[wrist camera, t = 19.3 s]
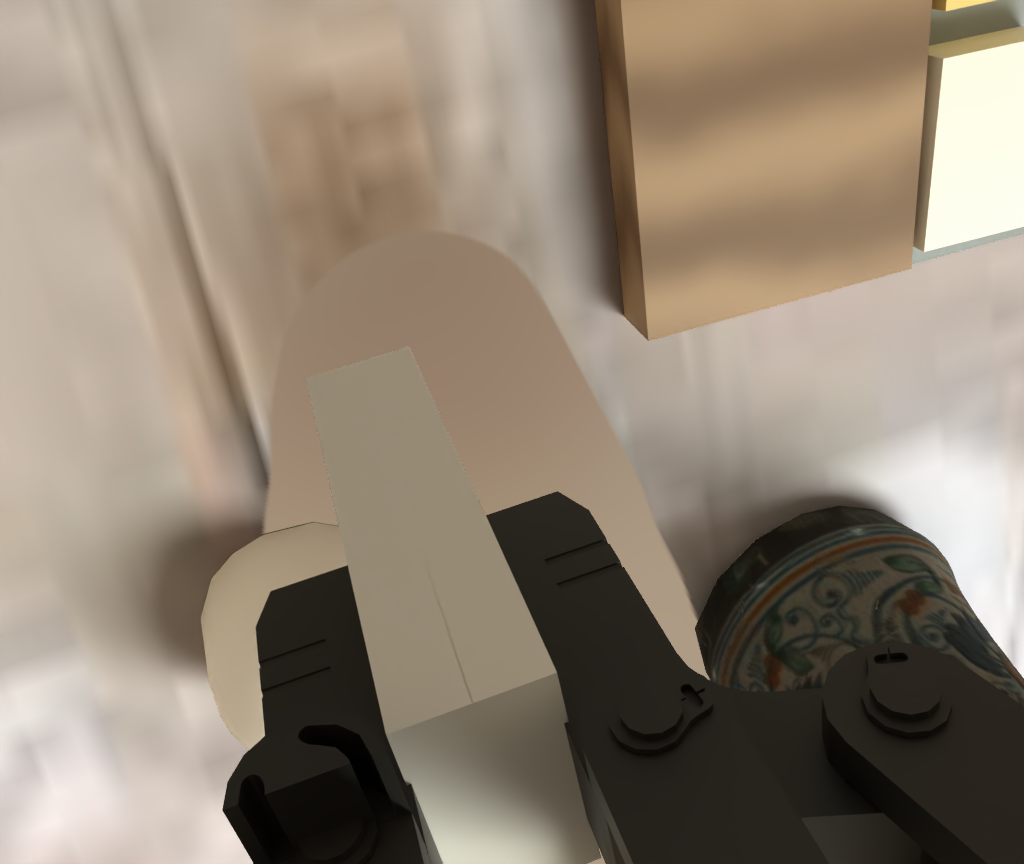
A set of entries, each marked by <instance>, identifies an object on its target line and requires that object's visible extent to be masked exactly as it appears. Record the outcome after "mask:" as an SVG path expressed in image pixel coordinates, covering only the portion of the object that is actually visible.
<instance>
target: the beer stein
mask: <svg viewBox="0 0 1024 864" xmlns="http://www.w3.org/2000/svg"><path fill="white" fill-rule="evenodd" d="M695 631H696V635H697V639H698V643H699V646H700V650H701V654H702V658H703V662H704V666H705V670H706V673H707V675H708V676H709V678H710V681H712V682H714V683H717V684H719V685H721V686H724V687H728V688H733V689H738V690H742V691H754V692H774V691H787V690H800V689H813V688H823V687H824V683H825V680H826V676H827V672H828V671H829V670H830V669H831V668H832V667H833V666H834V665H835V664H836V663H837V662H838V661H839V660H840V659H841V658H842V657H843V656H844V655H845V654H847V653H849V652H852V651H854V650H857V649H859V648H861V647H864V646H866V645H869V644H876V643H888V642H905V643H910V644H915V645H920V646H925V647H930V648H933V649H935V650H937V651H939V652H941V653H943V654H945V655H947V656H949V657H951V658H953V659H955V660H957V661H959V662H961V663H962V664H964V665H965V666H966V667H968V668H969V669H971V670H972V671H974V672H975V673H977V674H978V675H979V676H981V677H982V678H984V679H985V680H987V681H988V682H989V683H991V684H992V685H994V686H995V687H997V688H998V689H1000V690H1001V691H1002V692H1004V693H1005V694H1007V695H1008V696H1010V697H1011V698H1013V699H1014V700H1015V701H1017V702H1018V703H1020V704H1021V705H1023V706H1024V678H1023V677H1022V676H1021V675H1020V673H1019V672H1018V671H1017V669H1016V668H1015V667H1014V666H1013V664H1012V663H1011V662H1010V660H1009V659H1008V658H1007V656H1006V655H1005V654H1004V652H1003V651H1002V650H1001V649H1000V647H999V646H998V645H997V644H996V642H995V641H994V640H993V638H992V637H991V636H990V634H989V633H988V631H987V630H986V628H985V627H984V626H983V624H982V623H981V622H980V620H979V619H978V618H977V616H976V615H975V613H974V612H973V610H972V608H971V607H970V605H969V604H968V602H967V600H966V599H965V597H964V596H963V594H962V592H961V591H960V589H959V587H958V585H957V582H956V579H955V577H954V574H953V571H952V569H951V567H950V565H949V563H948V561H947V560H946V559H945V557H944V556H943V555H942V553H941V552H940V551H939V550H938V549H937V547H936V546H935V545H934V544H933V543H932V542H930V541H929V540H928V539H927V538H925V537H924V536H922V535H921V534H919V533H917V532H915V531H913V530H911V529H909V528H908V527H906V526H904V525H902V524H901V523H899V522H897V521H895V520H894V519H892V518H890V517H888V516H886V515H884V514H881V513H879V512H877V511H875V510H869V509H860V508H852V507H843V506H837V507H833V508H828V509H823V510H819V511H814V512H810V513H805V514H801V515H799V516H797V517H796V518H794V519H792V520H790V521H789V522H787V523H785V524H783V525H782V526H780V527H778V528H776V529H774V530H773V531H771V532H769V533H767V534H766V535H764V536H762V537H760V538H759V539H757V540H756V541H755V542H754V543H753V544H752V545H751V546H750V547H749V548H748V549H747V550H746V551H745V552H744V553H743V554H742V555H741V556H740V557H739V558H738V559H737V560H736V561H735V562H734V563H733V564H732V565H731V566H730V567H729V568H728V569H727V570H726V571H725V573H724V574H723V575H722V576H721V577H720V578H719V579H718V580H717V582H716V584H715V586H714V588H713V591H712V593H711V595H710V597H709V599H708V601H707V603H706V606H705V608H704V610H703V612H702V614H701V616H700V618H699V620H698V623H697V625H696V627H695Z"/></svg>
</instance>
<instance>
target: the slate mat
mask: <svg viewBox="0 0 1024 864" xmlns="http://www.w3.org/2000/svg"><path fill="white" fill-rule="evenodd" d="M1019 26H1022V27H1024V0H996V1H991V2H986V3H982V4H977V5H973V6H968V7H963V8H959V9H954V10H950V11H941V10H935V9H932V12H931V25H930V37H929V46H931V45H935V44H940V43H945V42H949V41H954V40H959V39H963V38H968V37H973V36H977V35H982V34H987V33H991V32H996V31H1001V30H1005V29H1010V28H1015V27H1019ZM1021 234H1024V227H1020V228H1016V229H1012V230H1008V231H1004V232H1000V233H997V234H993V235H989V236H985V237H981V238H977V239H973V240H969V241H965V242H961V243H957V244H953V245H950V246H946V247H942V248H938V249H934V250H930V251H926V252H923V251H921V250H919V249H917V248H915V247H913V254H912V264H915V263H919V262H922V261H926V260H929V259H933V258H937V257H940V256H944V255H948V254H951V253H955V252H959V251H962V250H966V249H970V248H973V247H977V246H981V245H984V244H988V243H991V242H995V241H999V240H1002V239H1006V238H1010V237H1013V236H1017V235H1021Z"/></svg>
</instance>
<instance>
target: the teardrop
mask: <svg viewBox="0 0 1024 864" xmlns="http://www.w3.org/2000/svg"><path fill="white" fill-rule="evenodd" d="M347 565H348V564H347V560H346V555H345V551H344V546H343V542H342V538H341V533H340V529H339V525H333V524H325V523H318V522H310V523H305V524H301V525H297V526H293V527H289V528H285V529H281V530H277V531H273V532H269V533H265V534H264V535H262V536H260V537H258V538H257V539H255V540H254V541H252V542H251V543H249V544H247V545H246V546H244V547H243V548H241V549H240V550H238V551H236V552H235V553H233V554H232V555H231V556H230V558H229V559H228V560H227V561H226V562H225V563H224V565H223V566H222V567H221V568H220V569H219V570H218V572H217V573H216V574H215V575H214V576H213V577H212V579H211V582H210V586H209V590H208V593H207V597H206V601H205V604H204V608H203V611H202V615H201V625H202V633H203V641H204V649H205V656H206V664H207V672H208V680H209V684H210V687H211V690H212V693H213V695H214V698H215V701H216V704H217V707H218V710H219V713H220V716H221V718H222V719H223V721H224V723H225V724H226V726H227V728H228V729H229V731H230V732H231V734H232V735H233V736H234V737H235V738H236V739H237V740H238V741H239V742H240V743H241V744H243V745H244V746H245V747H246V748H247V749H248V750H250V749H251V748H252V747H253V746H254V745H255V744H257V743H258V742H259V741H260V740H261V739H262V738H263V737H264V736H265V730H264V719H263V707H262V697H263V695H262V692H261V684H260V673H259V668H260V664H259V661H258V650H257V639H256V625H257V622H258V620H259V618H260V615H261V613H262V610H263V608H264V606H265V603H266V601H267V599H268V596H269V594H270V591H273V590H276V589H279V588H282V587H284V586H287V585H290V584H293V583H296V582H299V581H302V580H305V579H308V578H311V577H314V576H317V575H320V574H323V573H326V572H329V571H332V570H335V569H338V568H341V567H344V566H347Z"/></svg>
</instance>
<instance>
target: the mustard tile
mask: <svg viewBox="0 0 1024 864" xmlns="http://www.w3.org/2000/svg"><path fill="white" fill-rule="evenodd" d="M991 1H996V0H932V9H935V10H941V11H950V10H954V9H959V8H963V7H968V6H973V5H977V4H982V3H986V2H991Z"/></svg>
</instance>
